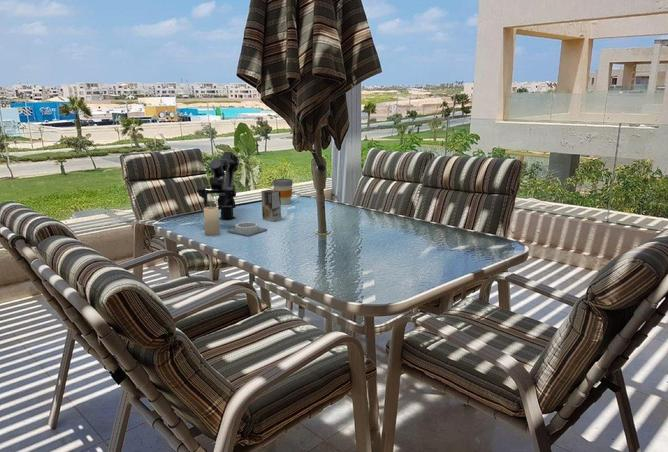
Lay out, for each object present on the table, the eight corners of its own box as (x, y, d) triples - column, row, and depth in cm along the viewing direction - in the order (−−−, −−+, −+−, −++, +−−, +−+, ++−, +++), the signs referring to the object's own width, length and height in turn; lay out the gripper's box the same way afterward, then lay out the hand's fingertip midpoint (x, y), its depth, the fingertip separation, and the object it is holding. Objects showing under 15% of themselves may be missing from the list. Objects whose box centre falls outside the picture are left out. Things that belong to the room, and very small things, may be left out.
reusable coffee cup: (285, 206, 312) (284, 182, 308) (269, 204, 318) (268, 180, 314) (296, 202, 322) (296, 179, 319) (281, 200, 329) (280, 178, 325)
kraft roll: (212, 231, 252) (211, 205, 249) (222, 233, 248) (221, 207, 245) (202, 234, 246) (200, 208, 243) (212, 236, 242) (210, 210, 239)
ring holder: (246, 226, 261) (246, 220, 260) (267, 230, 254) (266, 224, 253) (227, 232, 250) (226, 225, 249) (247, 236, 242) (247, 229, 241)
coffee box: (281, 220, 276) (280, 191, 273) (272, 222, 272) (271, 192, 268) (270, 217, 282) (270, 189, 279) (261, 219, 278) (261, 190, 274)
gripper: (196, 170, 252) (192, 196, 244) (233, 170, 252) (230, 196, 244) (202, 183, 261) (197, 208, 253) (237, 183, 261) (234, 209, 253)
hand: (214, 205), depth 251 cm, fingers open, 9 cm apart
